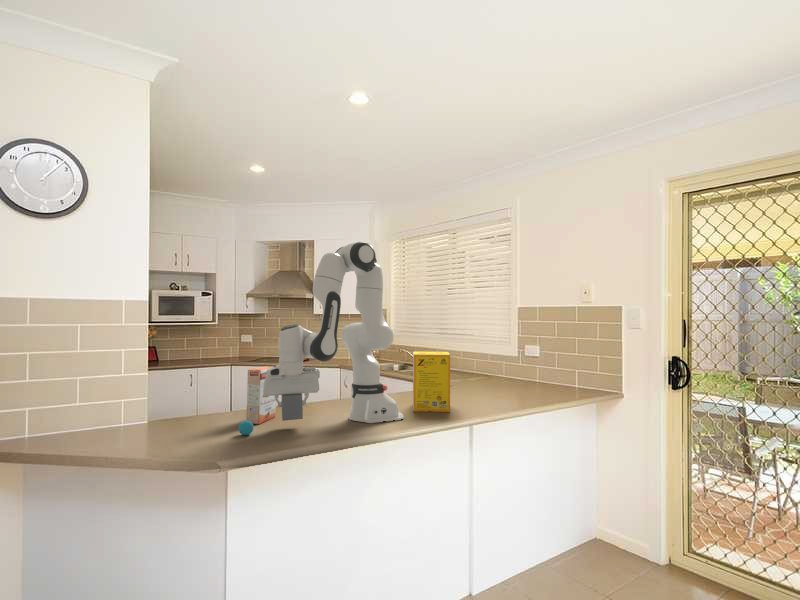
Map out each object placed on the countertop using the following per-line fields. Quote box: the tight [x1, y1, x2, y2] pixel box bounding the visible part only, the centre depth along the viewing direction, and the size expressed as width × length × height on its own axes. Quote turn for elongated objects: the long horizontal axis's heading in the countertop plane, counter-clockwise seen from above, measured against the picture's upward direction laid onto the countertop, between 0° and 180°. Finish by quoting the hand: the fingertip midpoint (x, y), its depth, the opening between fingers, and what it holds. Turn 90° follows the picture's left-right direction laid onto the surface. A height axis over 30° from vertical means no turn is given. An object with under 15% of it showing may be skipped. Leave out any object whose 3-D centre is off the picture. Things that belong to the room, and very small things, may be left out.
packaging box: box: [412, 351, 451, 413], centre depth 214 cm, size 16×16×25 cm
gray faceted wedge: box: [280, 394, 304, 422], centre depth 174 cm, size 7×7×9 cm
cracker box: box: [245, 365, 277, 425], centre depth 187 cm, size 14×6×21 cm, turn 168°
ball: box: [238, 420, 254, 436], centre depth 164 cm, size 5×5×5 cm
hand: (291, 406), depth 173 cm, fingers closed on gray faceted wedge, 7 cm apart
